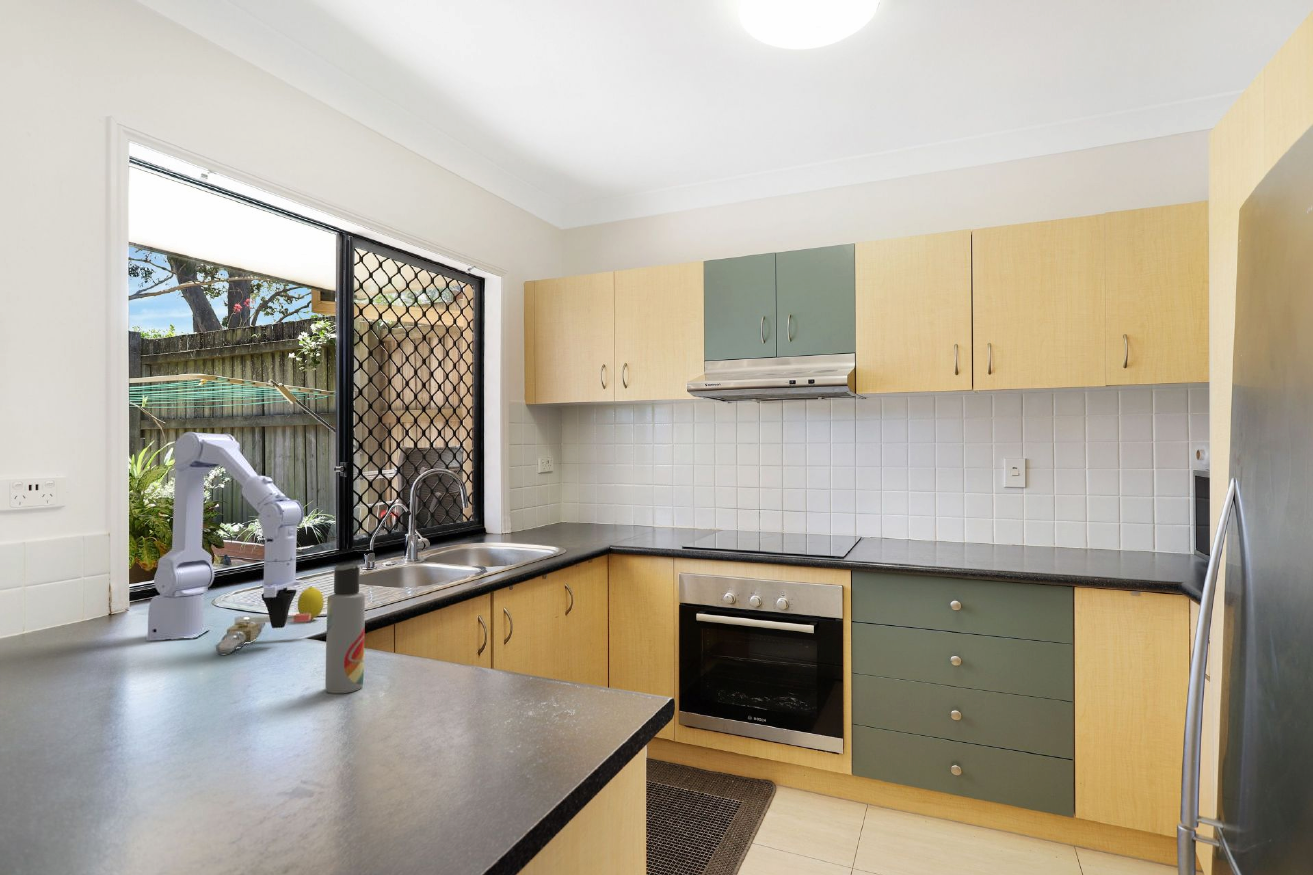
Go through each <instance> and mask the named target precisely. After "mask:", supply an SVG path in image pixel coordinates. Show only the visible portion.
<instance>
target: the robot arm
mask: <svg viewBox="0 0 1313 875" xmlns="http://www.w3.org/2000/svg"><path fill="white" fill-rule="evenodd" d="M240 449H241V447H240V443H239V442H238V441H237V440H236V439H235V437H234V436H233V435H231V434H229V433H205V432H194V431H186V432H185V433H183V434H182V435H181V436H180V437H178V439H177V440H176V441H175V444H174V464H173V467H174V484H173V485H174V490H173V516H172V519H173V520H172V542H171V546H172V547H171V549H170V550H169V551H168V552H166V553H165V554H164V555H163V556H161V557H160V558H158V561H157V569H156V572H155V574H154V578H153V582H154V583H153V584H154V587H155V589H156V590H157V592H158V593H159V595H155V596H154V597H152V599H151V600H150V603H149V607H148V614H147V615H148V616H147V619H148V620H147V637H146V638H145V641H146V642H149V641H150V642H151V641H163V640H164V641H165V639H171V640H179V639H178V638H184V637H191V636H197V635H193V634H198V633H200V632H202V631H203V628H204V612H205V611H204V609H205V593H207V592H208V588H209V587H211V585H212V584H213V582H214V580H215V570H214V566H213V562H212V561H213V560H212V558H213V556H212V555H211V554H210V552H208V551H206V550H205V549H204V548H203V528H204V526H203V525H204V501H205V500H204V498H205V497H204V496H205V494H204V493H205V477H206V476H207V475H208V474H209V473H210V472H211V471H212V470H214V469H217V468H219V467H222V468H223V469H224V470H225V471H226V472H228V473H229V475H230V476H231V477H233V478H234V479H235V480H236V481H237V482H238V483H239V484H240V485H241V487H242V488H241V494H242V496H243V497H244V498H245V500H247V501H248V503H249V504H250V505H251V506H252V507H253V508H254V510H256V512H258V516H257V518H258V523H259V525H260V527H261V529H262V531H261V532H262V533H261V534H262V537H263V538H264V557H263V558H264V559H263V560H264V562H263V563H264V564H263V582H262V588H263V593H262V594H261V600H262V601H263V602H264V604H265V607H266V609H267V613H268V616H269V617H270V622H269V623H270V627H271V628H272V629H283V628H285V627H286V623H287V621H286V620H287V616H288V615H289V612H290V608H291V605H292V603H293V600H294V597H295V596H296V594H297V592H298V591H297V589H288V588H290V587H295V586H300V585H302V583H303V581H302V579H301V580H300V579H299V580H296V572H297V571H296V569H297V568H296V567H297V539H298V538H297V535H298V527H299V526H300V525H301V524H302V522H303V521H304V517H305V516H304V515H305V514H304V513H305V512H304V508H303V505H301V503H300V501H299V500H296V499H290V498H289V497H286V495H285V493H282V491H280V489H279V488H278V487H277V486H276V485H275V484H274V483H273V481H274V480H273V479H272V478H271V477H270V476H269V477H267V476H265V475H258V473H257V472H256V471H255V469H253V467H252V466H251V464H250V463H249V462H248V461H247V459H246V458H245V457H244V456H243V454H242V452H241V451H240Z"/></svg>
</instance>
